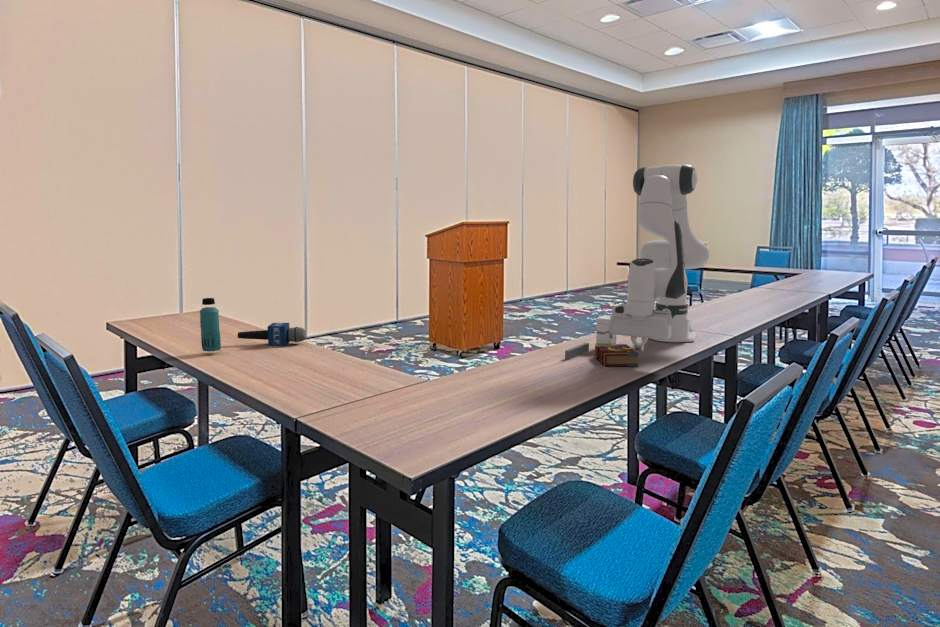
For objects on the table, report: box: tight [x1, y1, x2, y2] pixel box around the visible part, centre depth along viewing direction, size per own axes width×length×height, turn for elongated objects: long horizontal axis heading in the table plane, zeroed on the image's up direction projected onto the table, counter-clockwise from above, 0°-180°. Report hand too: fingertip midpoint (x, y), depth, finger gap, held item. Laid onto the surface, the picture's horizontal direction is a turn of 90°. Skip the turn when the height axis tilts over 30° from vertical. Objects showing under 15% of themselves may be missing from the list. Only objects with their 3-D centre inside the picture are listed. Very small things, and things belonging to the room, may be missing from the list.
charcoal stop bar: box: [564, 342, 590, 360], centre depth 220 cm, size 16×2×3 cm, turn 145°
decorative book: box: [594, 343, 640, 367], centre depth 211 cm, size 11×16×5 cm
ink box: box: [595, 314, 617, 345], centre depth 231 cm, size 9×5×12 cm, turn 147°
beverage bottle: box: [199, 297, 222, 353], centre depth 221 cm, size 6×7×20 cm
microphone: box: [237, 322, 307, 347], centre depth 238 cm, size 8×8×25 cm
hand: (638, 350), depth 207 cm, fingers closed
